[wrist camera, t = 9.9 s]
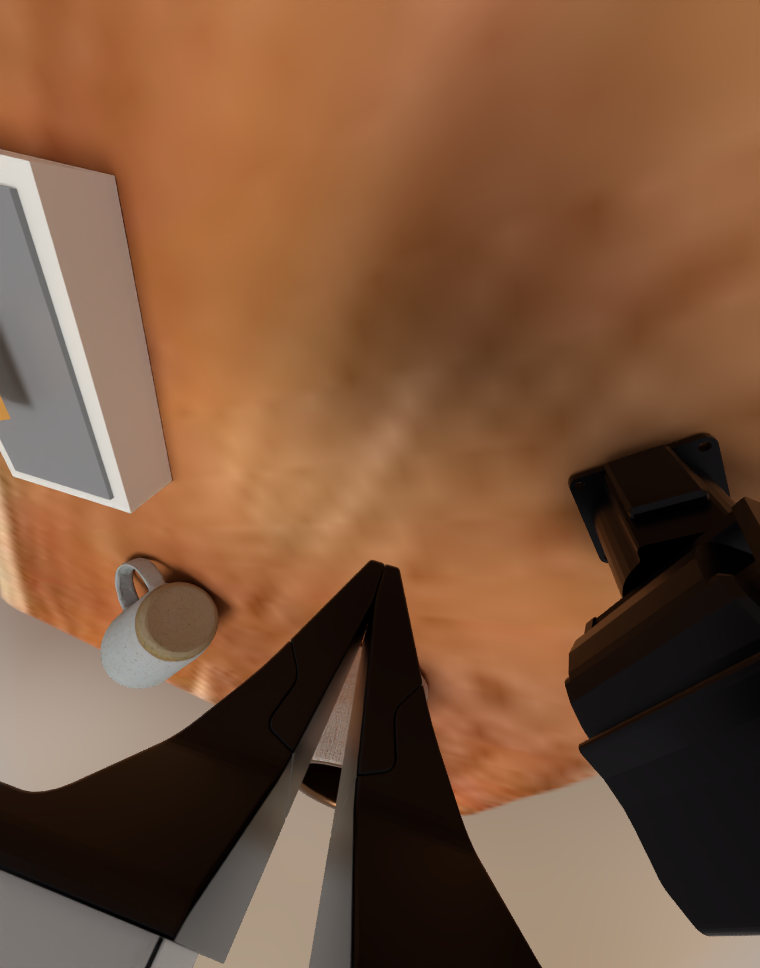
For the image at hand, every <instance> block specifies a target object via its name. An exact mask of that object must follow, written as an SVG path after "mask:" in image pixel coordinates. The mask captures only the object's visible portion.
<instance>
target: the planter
mask: <svg viewBox="0 0 760 968" xmlns="http://www.w3.org/2000/svg"><path fill="white" fill-rule="evenodd" d="M361 650H362V645H360V648H359V650H358V653H357V655H356V657H355V659H354V662H353V664H352V666H351V669H350V671H349V673H348V676H347V678H346V680H345V683H344V685H343V687H342V690H341V692H340V694H339V697H338V699H337V701H336V704H335V706H334V708H333V711H332V713H331V715H330V718H329V720H328V722H327V725H326V727H325V729H324V732H323V734H322V736H321V739H320V741H319V743H318V746H317V748H316V750H315V752H314V755H313V757H312V759H311V762H310V764H309V766H308V769H307V771H306V773H305V776H304V778H303V780H302V783H301V785H300V787H299V790H300V791H301V792H303V793H304V794H306V795H307V796H309V797H311V798H312V799H314V800H316V801H318V802H320V803H322V804H324V805H326V806H328V807H331V808H333V809H335V807H336V801H337V795H338V789H339V783H340V777H341V771H342V765H343V759H344V753H345V747H346V741H347V735H348V729H349V723H350V716H351V710H352V704H353V698H354V692H355V686H356V680H357V674H358V668H359V662H360V656H361ZM421 677H422V681H423V684H422V685H423V686H424V691H425V695H426V700H427V703H428V686H427V683H426V681H425V679H424V677H423V676H422V675H421Z"/></svg>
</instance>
